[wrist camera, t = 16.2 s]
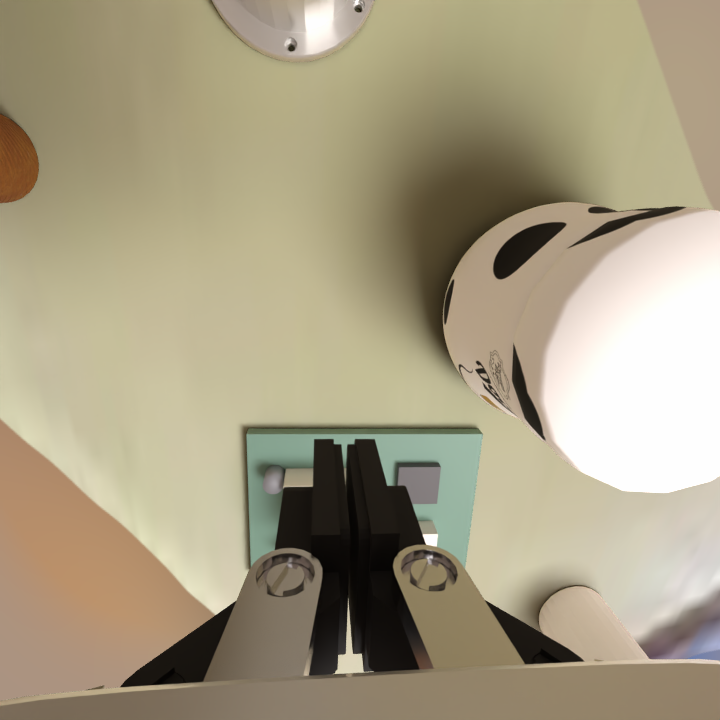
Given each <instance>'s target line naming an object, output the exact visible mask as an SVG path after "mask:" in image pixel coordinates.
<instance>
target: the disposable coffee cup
mask: <svg viewBox="0 0 720 720" xmlns="http://www.w3.org/2000/svg"><path fill="white" fill-rule="evenodd" d="M38 172H39V163H38V157H37V153H36V151H35V148H34V146H33V144H32V142H31V140H30V138H29V137H28V136H27V134H26V133H25V132H24V131H23V129H22V128H20V127H19V126H18V125H17V124H16V123H15V122H13V121H12V120H10V119H9V118H7V117H5V116H3V115H2V114H0V203H8V202H13V201H16V200H19V199H21V198H23V197H24V196H25V195H26V194H28V193H29V192H30V191H31V190H32V188H33V187H34V185H35V183H36V181H37V177H38Z"/></svg>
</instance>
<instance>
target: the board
mask: <svg viewBox="0 0 720 720" xmlns="http://www.w3.org/2000/svg"><path fill="white" fill-rule="evenodd" d="M246 435H247V465H248V496H249V526H250V556H251V567H252V565H253V564H254V562H255V561H257V560H258V559H259V558H260V557H261V556H263V555H265V554H267V553H269V552H271V551H274V550H275V544H276V537H277V530H278V523H279V516H280V509H281V502H282V495H283V489H284V487H313V459H314V439H334V444H341V445H342V455H343V465H344V475H345V485H346V458H347V444H354V441H355V439H375V442H376V445H377V449H378V453H379V457H380V460H381V464H382V468H383V472H384V475H385V479H386V483H387V486H396V485H404V486H406V488H407V490H408V493H409V496H410V499H411V502H412V505H413V508H414V511H415V514H416V517H417V519H418V522H419V525H420V528H421V531H422V534H423V537H424V540H425V543H426V545H431V546H436V547H439V548H441V549H444V550H446V551H448V552H449V553H451V554H452V555H454V556H455V557H456V558H457V559H458V560H459V561H460V563H461V564H462V565H463V567H464V568H465V565H466V557H467V550H468V542H469V535H470V527H471V520H472V512H473V505H474V497H475V490H476V482H477V475H478V467H479V460H480V452H481V445H482V437H483V434H482V432H481V431H480V430H479V429H248V432H247V434H246Z"/></svg>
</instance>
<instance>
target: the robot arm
mask: <svg viewBox="0 0 720 720" xmlns="http://www.w3.org/2000/svg"><path fill="white" fill-rule="evenodd" d="M374 1H375V0H212V2H213V4H214V5H215V7H216V9H217V11H218V12H219V14H220V16H221V18H222V19H223V20H224V21H225V23H226V24H227V25H228V26H229V28H230V29H231V30H232V31H233V33H234V34H236V35H237V36H238V37H239V38H240V39H241V40H242V41H244V42H245V43H246V44H247V45H248V46H250V47H252V48H253V49H255V50H257V51H258V52H260V53H262V54H263V55H266V56H269V57H272V58H275V59H277V60H282V61H289V62H307V61H314V60H317V59H320V58H323V57H327V56H329V55H330V54H332V53H334V52H336V51H337V50H339V49H341V48H342V47H343V46H345V45H346V44H347V43H348V42H349V41H350V40H351V39H352V38H353V37H354V36H355V35H356V34H357V32H358V31H359V30H360V28H361V27H362V26H363V24H364V23H365V21H366V19H367V17H368V15H369V13H370V11H371V9H372V7H373V4H374ZM356 8H360V9H361V12H360V13H358V12H356V11H355V9H356ZM290 46H293V47H294V48H295V50H294V51H292V52H290V51H289V50H288V48H289V47H290ZM348 598H349V611H350V624H351V636H352V649H353V654H361V653H362V659H363V669H364V672H367V673H349V674H333V673H335V671H336V670H337V666H338V655H341V654H345V653H346V632H347V609H348ZM368 671H374V672H368ZM0 720H720V661H716V660H702V659H641V660H616V661H603V660H597V659H594V661H589V662H585V661H584V660H583V659H582V658H581V657H579V656H578V655H577V654H575V653H574V652H572V651H571V650H570V649H568V648H566V647H565V646H563V645H561V644H560V643H558V642H556V641H554V640H553V639H551V638H549V637H548V636H546V635H544V634H542V633H541V632H539V631H537V630H535V629H534V628H532V627H530V626H529V625H527V624H525V623H523V622H522V621H520V620H518V619H517V618H515V617H513V616H511V615H510V614H508V613H506V612H504V611H503V610H501V609H499V608H498V607H496V606H494V605H492V604H491V603H489V602H487V601H486V600H484V598H483V597H482V595H481V594H480V592H479V591H478V589H477V587H476V586H475V584H474V583H473V581H472V579H471V578H470V576H469V575H468V573H467V572H466V570H465V568H464V567H463V565H462V564H461V563H460V561H459V560H458V559H457V558H456V557H455V556H454V555H452V554H451V553H449V552H448V551H446V550H444V549H441V548H439V547H436V546H431V545H426V543H425V540H424V537H423V534H422V531H421V528H420V525H419V522H418V519H417V517H416V514H415V511H414V508H413V505H412V502H411V499H410V496H409V493H408V490H407V488H406V486H404V485H396V486H387V483H386V479H385V475H384V472H383V468H382V464H381V460H380V457H379V453H378V449H377V445H376V442H375V439H355V441H354V444H347V458H346V485H345V475H344V465H343V455H342V445H341V444H334V439H314V459H313V487H284V489H283V495H282V502H281V509H280V516H279V523H278V530H277V537H276V544H275V550H274V551H271V552H269V553H267V554H265V555H263V556H261V557H260V558H259V559H258V560H257V561H255V562H254V564H253V565H252V567H251V568H250V570H249V572H248V574H247V577H246V579H245V581H244V584H243V586H242V589H241V591H240V593H239V596H238V598H237V601H235V602H234V603H233V604H231V605H230V606H228V607H227V608H225V609H224V610H223V611H221V612H220V613H218V614H217V615H215V616H214V617H213V618H211V619H210V620H208V621H207V622H206V623H204V624H203V625H201V626H200V627H199V628H197V629H196V630H194V631H193V632H191V633H190V634H188V635H187V636H186V637H184V638H183V639H181V640H180V641H179V642H177V643H176V644H174V645H173V646H171V647H170V648H169V649H167V650H166V651H164V652H163V653H162V654H160V655H159V656H157V657H156V658H154V659H153V660H152V661H150V662H149V663H147V664H146V665H145V666H143V667H142V668H140V669H139V670H137V671H136V672H135V673H134V674H133V675H132V676H130V677H129V678H128V679H127V680H126V681H125V682H124V683H123V684H122V685H121V687H120V688H104V686H100V687H96V688H92V689H88V690H84V691H74V692H65V693H54V694H44V695H34V696H24V697H20V698H13V699H8V700H2V701H0Z"/></svg>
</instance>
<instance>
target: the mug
mask: <svg viewBox="0 0 720 720" xmlns="http://www.w3.org/2000/svg"><path fill="white" fill-rule="evenodd" d="M539 626H540V628H541V631H542V633H543V634H544V635H546V636H548V637H549V638H551V639H553V640H554V641H556V642H558V643H560V644H561V645H563V646H565V647H566V648H568V649H570V650H571V651H572V652H574V653H575V654H577V655H578V656H579V657H581V658H582V659H583V660H584V661H585V662H589V661H594V659H597V660H603V661H616V660H641V659H649V658H648V657H647V655H646V654H645V653H644V651H643V650H642V649H641V647H640V646H639V645H638V644H637V642H636V641H635V640H634V638H633V637H632V636H631V635H630V633H629V632H628V631H627V629H626V628H625V627H624V626H623V624H622V623H621V622H620V620H619V619H618V618H617V616H616V615H615V614H614V613H613V611H612V610H611V609H610V607H609V606H608V605H607V604H606V602H605V601H604V600H603V598H602V597H601V596H600V595H599V593H597V592H595V591H594V590H592V589H590V588H587V587H581V586H574V587H569V588H565V589H563V590H560V591H558V592H557V593H555V594H554V595H552V596H551V597H550V598H549V599H548V600H547V601H546V602H545V603H544V605H543V607H542V608H541V611H540V614H539Z"/></svg>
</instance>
